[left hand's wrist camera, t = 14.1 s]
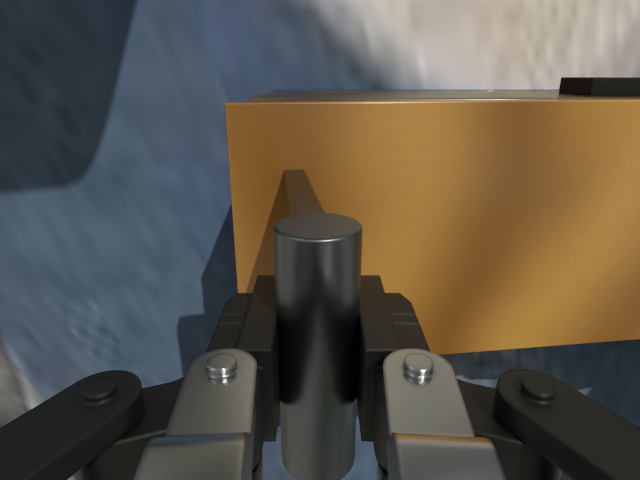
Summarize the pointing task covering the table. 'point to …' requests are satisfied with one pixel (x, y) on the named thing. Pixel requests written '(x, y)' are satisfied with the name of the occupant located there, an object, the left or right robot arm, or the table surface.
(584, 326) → the lid
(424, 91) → the chest
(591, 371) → the table surface
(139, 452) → the left robot arm
